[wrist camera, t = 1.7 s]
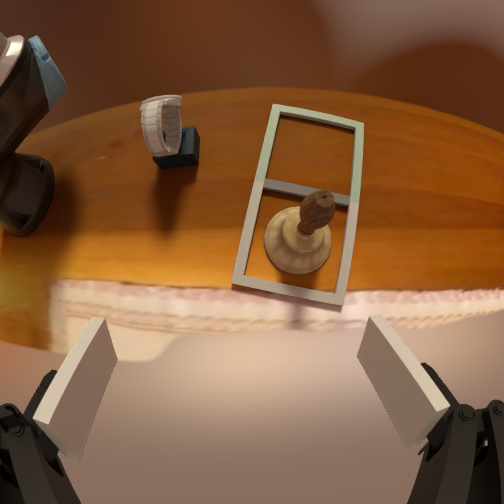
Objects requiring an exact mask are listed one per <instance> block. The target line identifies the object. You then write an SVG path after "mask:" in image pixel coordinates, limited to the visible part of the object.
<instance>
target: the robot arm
mask: <svg viewBox="0 0 504 504" xmlns="http://www.w3.org/2000/svg"><path fill="white" fill-rule="evenodd" d="M65 91H66V82H65V80H64V79H63V77H62V75H61V73H60V72H59V70H58V69H57V67H56V65H55V64H54V62H53V60H52V59H51V57H50V56H49V54H48V52H47V51H46V49H45V47H44V45H43V43H42V42H41V40H40V39H39V37H38V36H34V37H33V38H30V39H29V40H28V42H27V41H26V40H25V39H24V38H23V37H22V36H19V35H18V36H13V37H10V38H5V37H4V36H3V35H2V34H1V33H0V226H1V227H2V228H4V229H5V230H6V231H7V232H8V233H10V234H13V235H16V236H26V235H28V234H29V233H31V232H32V231H33V230H34V229H35V228H36V227H37V226H38V224H39V223H40V221H41V220H42V218H43V216H44V215H45V213H46V210H47V208H48V206H49V203H50V200H51V197H52V193H53V187H54V171H53V168H52V165H51V164H50V163H49V162H48V161H47V160H45V159H44V158H42V157H40V156H37V155H30V154H23V153H16V152H15V150H16V149H17V148H18V146H19V145H20V144H21V143H22V141H23V140H24V139H25V138H26V137H27V135H28V134H29V133H30V132H31V131H32V130H33V128H34V127H35V126H36V125H37V124H38V123H39V122H40V120H42V118H43V117H44V116H45V115H46V114H47V113H48V112H50V111H51V110H52V107H53V106H54V105H55V104H56V103H57V102H58V101H59V100H60V99H61V98H62V96H63V95H64V94H65ZM357 358H358V359H359V361H360V363H361V365H362V366H363V368H364V370H365V372H366V374H367V375H368V377H369V379H370V381H371V383H372V385H373V387H374V388H375V390H376V392H377V394H378V396H379V398H380V400H381V401H382V403H383V405H384V407H385V409H386V411H387V413H388V415H389V417H390V419H391V420H392V422H393V424H394V426H395V428H396V430H397V432H398V434H399V436H400V438H401V440H402V442H403V444H404V446H405V448H406V449H409V448H412V447H414V446H416V445H419V444H420V443H421V442H422V441H423V440H424V439H425V437H427V439H428V442H427V444H426V445H425V446H424V447H423V448H422V449H421V450H420V451H419V453H418V455H420V454H421V453H422V452H423V451H424V454H423V458H422V461H421V465H420V468H419V471H418V475H417V478H416V481H415V484H414V486H413V489H412V492H411V495H410V498H409V500H408V502H407V504H504V403H503V402H502V401H500V400H493V401H491V402H490V403H489V404H488V406H487V407H486V408H484V409H477V410H475V409H474V408H473V407H471V406H469V405H467V404H461V405H460V404H459V403H458V402H457V400H456V399H455V397H454V396H453V395H452V393H451V392H450V391H449V389H448V388H447V386H446V385H445V384H444V383H443V381H442V380H441V379H440V377H438V375H437V373H436V372H435V371H434V369H433V368H432V367H430V366H429V365H427V364H426V363H421V364H420V363H419V362H418V360H417V359H416V358H415V357H414V355H413V354H412V352H411V351H410V350H409V349H408V347H407V346H406V345H405V343H404V342H403V341H402V340H401V338H400V337H399V336H398V335H397V333H396V332H395V331H394V330H393V328H392V327H391V326H390V325H389V323H388V322H387V321H386V320H385V318H384V317H383V316H382V315H375V316H369V319H368V322H367V326H366V329H365V332H364V336H363V339H362V342H361V345H360V348H359V351H358V354H357ZM117 360H118V359H117V356H116V353H115V350H114V347H113V344H112V341H111V337H110V334H109V330H108V327H107V323H106V320H105V318H98V317H92V318H91V319H90V321H89V322H88V324H87V325H86V327H85V328H84V330H83V331H82V333H81V334H80V336H79V338H78V339H77V341H76V342H75V344H74V345H73V347H72V349H71V350H70V352H69V353H68V355H67V357H66V359H65V360H64V362H63V364H62V365H61V367H60V368H59V370H58V371H56V370H51V371H50V372H49V373H48V374H47V375H45V376H44V378H43V380H42V381H41V383H40V386H38V388H37V390H36V393H34V395H33V397H32V399H31V401H30V402H29V404H28V406H27V408H26V410H25V412H24V414H23V415H22V413H21V412H20V411H19V409H18V408H17V407H16V406H15V405H13V404H10V403H7V404H3V405H1V406H0V504H81V502H80V500H79V498H78V497H77V495H76V493H75V491H74V489H73V487H72V485H71V483H70V481H69V478H68V476H67V474H66V472H65V470H64V467H63V465H62V463H61V460H60V459H59V457H58V455H57V454H58V451H59V450H60V451H61V452H62V453H63V454H64V455H65V456H66V457H69V458H72V459H75V460H78V461H80V460H81V457H82V454H83V451H84V448H85V445H86V442H87V439H88V435H89V433H90V430H91V427H92V424H93V421H94V418H95V416H96V413H97V410H98V408H99V405H100V402H101V400H102V397H103V394H104V392H105V389H106V387H107V384H108V382H109V379H110V377H111V374H112V372H113V369H114V367H115V365H116V362H117ZM486 440H487V441H488V445H487V446H485V443H484V442H485V441H486Z"/></svg>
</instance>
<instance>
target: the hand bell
mask: <svg viewBox="0 0 504 504" xmlns="http://www.w3.org/2000/svg"><path fill="white" fill-rule="evenodd" d="M334 213H335V202H334V196H333V194H332V192H331V191H329V190H328V189H321V190H319V191H315V192H312V193H310V194H309V195H307V196H306V197H305V198H304V200H303V201H302V204H301V206H300V207H291V208H287V209H284V210H282V211H280V212H279V213H277V214H276V215H275V216H274V217H273V218H272V219H271V220H270V222H269V223H268V225H267V227H266V230H265V234H264V246H265V250H266V253H267V255H268V257H269V259H270V260H271V261H272V263H273V264H274V265H275V266H277V267H278V268H279V269H281V270H282V271H285V272H287V273H290V274H296V275H302V274H308V273H311V272H313V271H315V270H317V269H318V268H319V267H321V266H322V265H323V264H324V263H325V261H326V260H327V258H328V256H329V254H330V251H331V248H332V236H331V232H330V229H329V226H328V225H327V224H328V223H329V222H330V221H331V220H332V218H333V216H334Z"/></svg>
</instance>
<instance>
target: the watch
mask: <svg viewBox="0 0 504 504" xmlns="http://www.w3.org/2000/svg"><path fill="white" fill-rule="evenodd" d="M181 100H182V97H181V96H177V95H164V96H157V97H153V98H149V99H147V100H145V101H143V102H142V106H141V107H140V112H141V113H142V118H141V123H142V132H143V136H144V139H145V142H146V145H147V147H148V149H149V151H150V152H151V155H153V160H154V162H155V163H156V164H157V165H158V166H159V168H160V169H166V168H173V167H180V166H188V165H196V164H199V145H200V137H199V135H198V133H197V130H196V128H195V126H191V127H185V128H182V127H181V118H180V113H179V111H180V110H181V106H182V101H181ZM161 114H162V115H161ZM161 116H163V120H164V125H165V131H162V130H161V129H162V123H161ZM174 116H175V117H174ZM165 122H166V123H165ZM172 123H174V124H172ZM152 125H153V126H152ZM147 126H149V127H147ZM154 133H155V134H154ZM149 134H150V135H149Z"/></svg>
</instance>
